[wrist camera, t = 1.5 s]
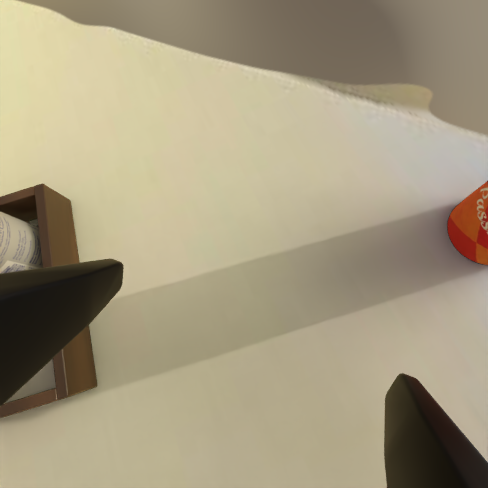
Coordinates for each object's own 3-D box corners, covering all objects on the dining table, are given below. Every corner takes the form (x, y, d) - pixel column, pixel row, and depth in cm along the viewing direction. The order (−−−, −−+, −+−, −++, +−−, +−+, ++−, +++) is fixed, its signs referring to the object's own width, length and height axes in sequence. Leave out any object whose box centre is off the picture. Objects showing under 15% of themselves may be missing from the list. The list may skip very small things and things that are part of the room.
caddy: (-8, 418, 23) (-55, 435, 20) (-18, 227, 28) (-58, 214, 24) (97, 386, 23) (68, 397, 20) (70, 200, 28) (42, 182, 24)
